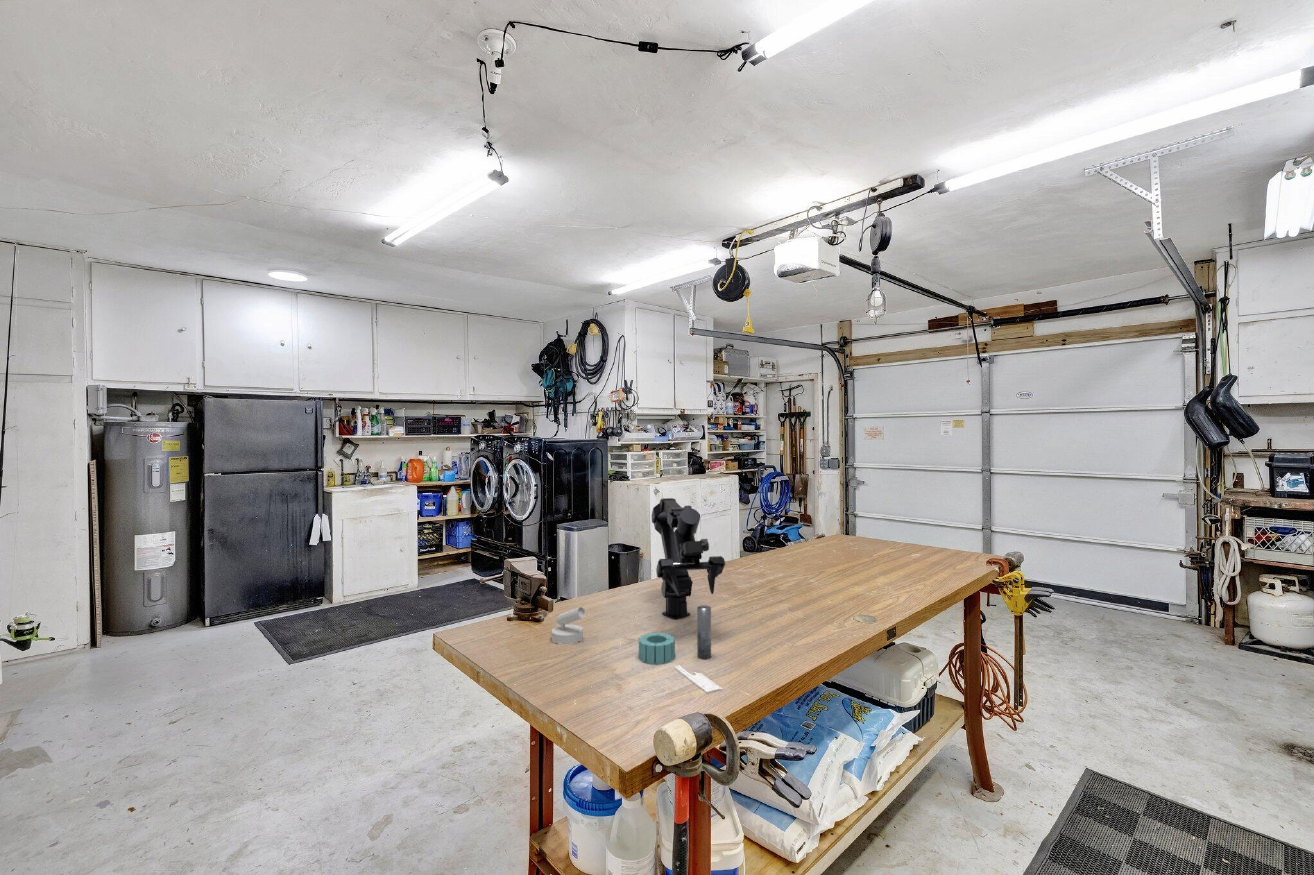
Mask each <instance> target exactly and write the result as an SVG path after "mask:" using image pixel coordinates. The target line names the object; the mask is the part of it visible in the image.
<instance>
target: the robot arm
mask: <svg viewBox="0 0 1314 875" xmlns="http://www.w3.org/2000/svg"><path fill="white" fill-rule="evenodd" d="M700 520H701V514H700V513H699V512H698V511H697V510H696V509H694V508H693V507H692V505H684V506H683V507H682V506H681V505H680V504H679V503H678V502H677V500H676V498H672V497H669V498H664V497H663V498H661V499H659V502H658V503H657V504H655V506H653V508H652V512H651V523H652V524H653V527H654V530H655V531H656V532H657V533H658V534H660V538H661V543H662V549H663V554H664V558H660V559H658V561H657V565H656V568H655V572H656V578H659V579H660V578H661V579H662V582H661V586H660V588H661V595H662V597H663V599H665V611H662V612H661V614H662V615H663V616H666V617H667V618H668V617H669V618H671V619H674V620H678V619H681V618H684V617H688V616H691V613H690V612H688V602H687V597H691V596H692V591H693V589H692V587H693V583H694V582H693V580H692V577H691V576H690V574H689V571H697V570H706V572H707V580H708V586H709V587H708V588H709V591H710V593H711V595H714V592H715V584H716V583H715V582H716V578H718V577H719V575H721V574H722V573H723V571H724V568H725V566H726V561H725V558H724V557H723V556H721V555H720V556H719V555H718V556H714V555H713V556H709V558H708V561H701V560H702V558H703V555H702V554H703V553H704V552H708V551H709V550H710V544H709V541H708V538H701V539H700V540H696V537H695V534H696V533H697V530H698V529H699V528H698V527H699V524H700Z"/></svg>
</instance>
